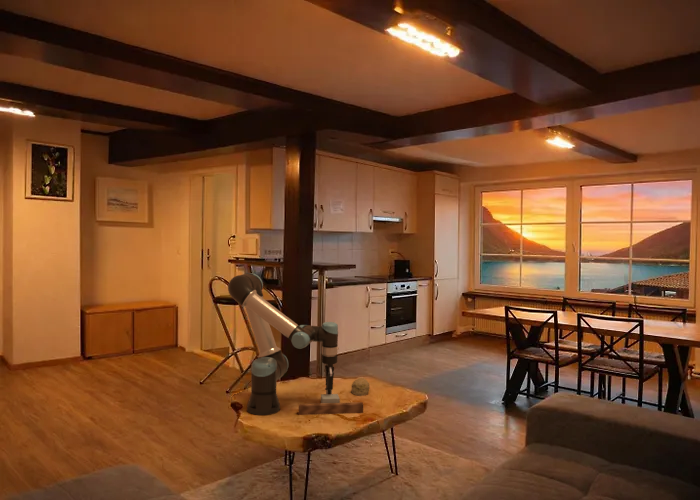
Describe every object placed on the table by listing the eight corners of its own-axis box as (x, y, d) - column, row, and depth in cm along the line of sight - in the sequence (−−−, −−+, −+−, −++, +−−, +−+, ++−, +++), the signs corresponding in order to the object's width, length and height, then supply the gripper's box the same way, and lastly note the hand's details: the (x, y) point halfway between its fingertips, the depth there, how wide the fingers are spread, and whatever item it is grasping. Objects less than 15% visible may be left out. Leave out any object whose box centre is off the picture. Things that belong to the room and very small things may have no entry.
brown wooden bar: (298, 414, 245) (299, 405, 244) (298, 412, 248) (298, 403, 247) (363, 412, 250) (363, 403, 249) (361, 410, 253) (362, 401, 252)
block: (322, 411, 249) (322, 399, 249) (320, 406, 256) (321, 394, 256) (339, 411, 251) (339, 398, 251) (337, 406, 258) (337, 393, 257)
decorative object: (356, 403, 273) (367, 388, 270) (344, 389, 278) (354, 375, 275) (366, 400, 281) (376, 386, 278) (354, 386, 286) (363, 372, 283)
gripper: (339, 358, 251) (338, 406, 254) (335, 350, 264) (334, 396, 266) (323, 358, 250) (322, 407, 252) (320, 351, 262) (319, 397, 265)
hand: (328, 401), depth 259 cm, fingers closed
